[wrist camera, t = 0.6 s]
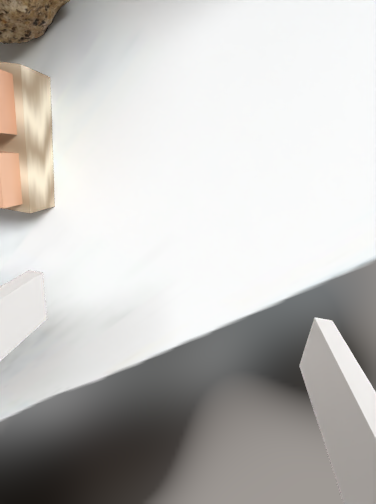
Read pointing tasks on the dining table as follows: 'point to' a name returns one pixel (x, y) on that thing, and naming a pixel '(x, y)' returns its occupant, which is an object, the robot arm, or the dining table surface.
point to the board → (32, 137)
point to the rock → (26, 18)
